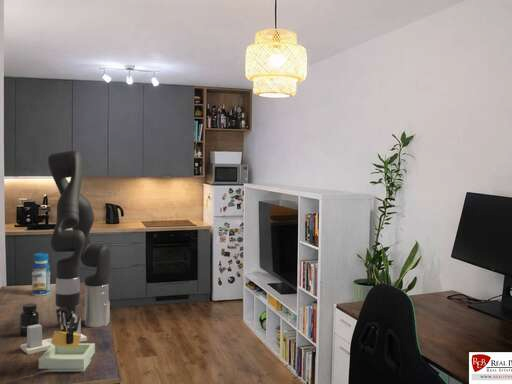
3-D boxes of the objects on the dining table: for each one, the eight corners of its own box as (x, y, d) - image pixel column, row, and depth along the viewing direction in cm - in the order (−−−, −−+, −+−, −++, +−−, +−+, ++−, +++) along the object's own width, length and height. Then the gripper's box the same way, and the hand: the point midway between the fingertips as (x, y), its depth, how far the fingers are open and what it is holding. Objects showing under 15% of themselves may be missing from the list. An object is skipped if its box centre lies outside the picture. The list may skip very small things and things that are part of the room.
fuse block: (78, 337, 190) (78, 332, 190) (86, 342, 185) (87, 336, 185) (20, 351, 175) (20, 344, 175) (27, 357, 170) (27, 350, 170)
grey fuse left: (38, 346, 178) (38, 324, 177) (42, 348, 176) (42, 326, 175) (27, 348, 175) (27, 326, 175) (30, 351, 173) (30, 328, 172)
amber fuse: (50, 342, 164) (73, 345, 169) (54, 345, 161) (77, 347, 167) (54, 330, 164) (77, 333, 170) (58, 333, 162) (81, 335, 168)
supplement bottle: (17, 339, 186) (17, 307, 186) (21, 333, 193) (21, 302, 192) (37, 338, 188) (37, 306, 188) (40, 332, 195) (40, 302, 194)
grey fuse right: (77, 337, 188) (77, 316, 187) (80, 339, 185) (80, 318, 185) (66, 339, 185) (66, 318, 184) (70, 342, 183) (70, 320, 182)
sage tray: (94, 354, 174) (94, 343, 174) (83, 371, 160) (83, 359, 160) (53, 354, 173) (53, 343, 173) (38, 371, 159) (38, 359, 159)
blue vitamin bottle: (53, 293, 252) (53, 253, 251) (38, 297, 245) (38, 256, 243) (43, 290, 256) (43, 252, 255) (28, 294, 249) (28, 254, 248)
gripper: (88, 293, 163) (87, 345, 163) (70, 284, 173) (69, 334, 174) (65, 296, 157) (65, 351, 158) (47, 288, 168) (47, 339, 168)
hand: (67, 342), depth 166 cm, fingers closed on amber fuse, 3 cm apart
